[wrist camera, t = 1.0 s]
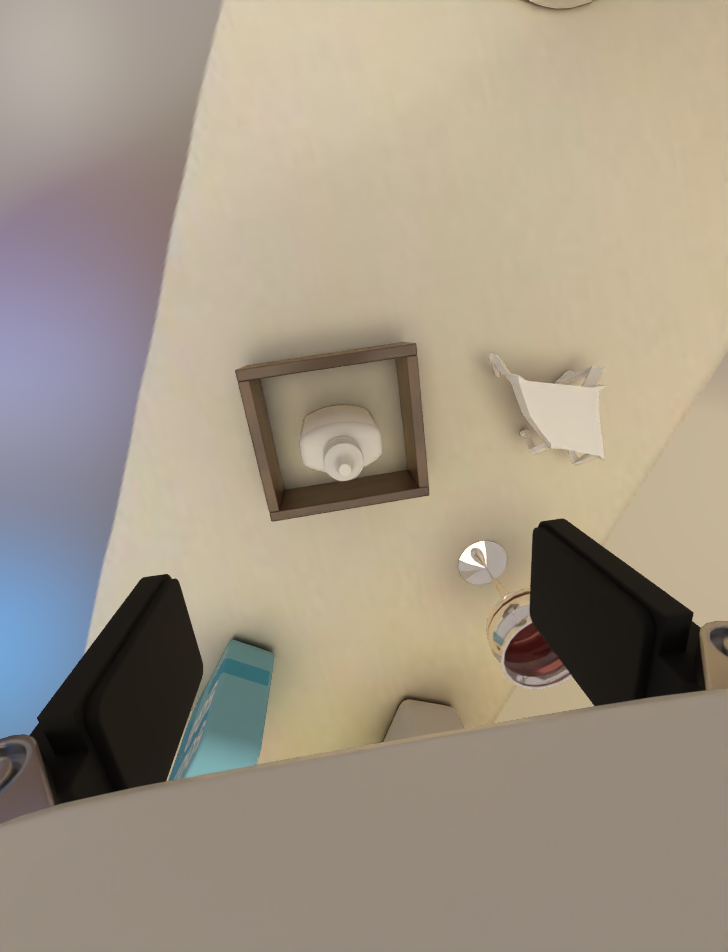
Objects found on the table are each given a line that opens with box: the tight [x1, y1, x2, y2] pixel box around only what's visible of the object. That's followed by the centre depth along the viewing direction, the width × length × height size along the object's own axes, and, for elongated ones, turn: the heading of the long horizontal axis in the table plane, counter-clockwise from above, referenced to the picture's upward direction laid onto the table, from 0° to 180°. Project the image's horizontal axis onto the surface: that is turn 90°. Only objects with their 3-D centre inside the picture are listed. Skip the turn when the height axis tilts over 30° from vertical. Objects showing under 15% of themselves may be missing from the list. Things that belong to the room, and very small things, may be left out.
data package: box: [169, 640, 274, 781], centre depth 36 cm, size 12×4×12 cm, turn 152°
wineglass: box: [458, 541, 572, 689], centre depth 34 cm, size 7×7×12 cm
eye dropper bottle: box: [299, 405, 382, 481], centre depth 28 cm, size 4×6×12 cm
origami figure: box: [489, 352, 605, 465], centre depth 32 cm, size 12×8×5 cm
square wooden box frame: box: [235, 342, 429, 521], centre depth 32 cm, size 12×13×4 cm
